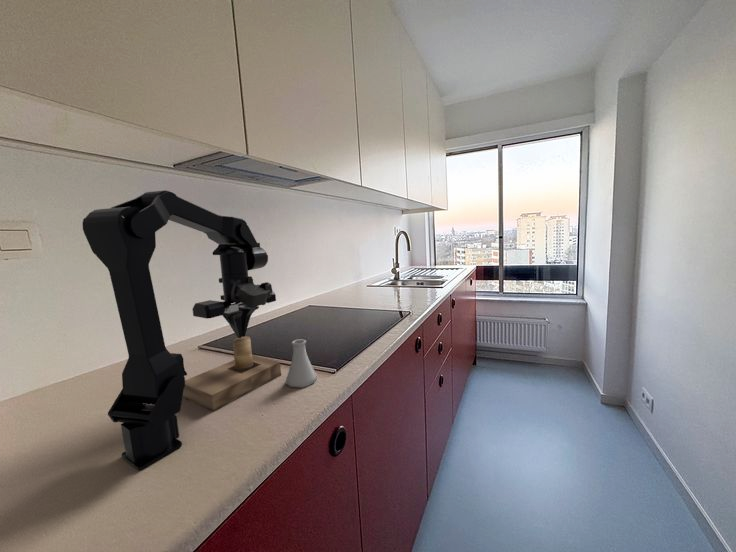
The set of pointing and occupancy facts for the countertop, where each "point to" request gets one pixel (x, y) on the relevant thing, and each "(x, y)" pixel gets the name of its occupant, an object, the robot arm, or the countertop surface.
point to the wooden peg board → (229, 382)
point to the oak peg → (242, 354)
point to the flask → (300, 367)
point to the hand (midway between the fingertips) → (241, 337)
